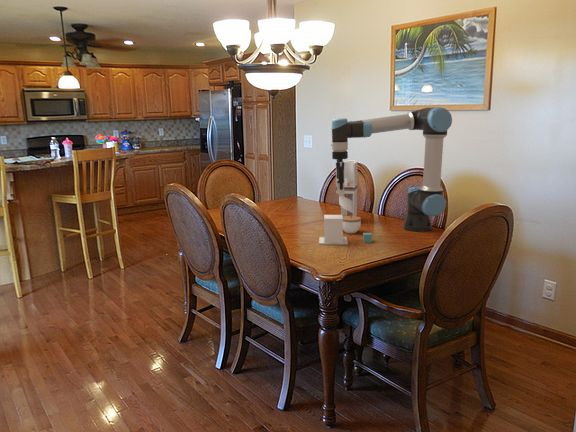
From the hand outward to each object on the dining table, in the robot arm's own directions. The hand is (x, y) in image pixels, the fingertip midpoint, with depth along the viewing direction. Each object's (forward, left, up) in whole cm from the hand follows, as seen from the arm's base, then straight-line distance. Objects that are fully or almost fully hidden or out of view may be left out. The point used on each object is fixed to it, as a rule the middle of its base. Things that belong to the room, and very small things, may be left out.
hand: (340, 193), depth 233 cm
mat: (+4, +3, -24) cm, 24 cm away
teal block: (-13, +3, -24) cm, 27 cm away
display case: (-5, -41, -24) cm, 47 cm away
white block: (+4, +3, -23) cm, 23 cm away
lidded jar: (-6, -16, -24) cm, 29 cm away
